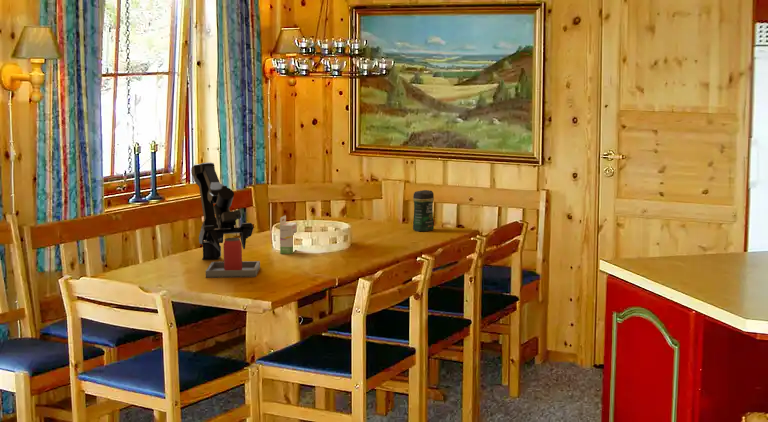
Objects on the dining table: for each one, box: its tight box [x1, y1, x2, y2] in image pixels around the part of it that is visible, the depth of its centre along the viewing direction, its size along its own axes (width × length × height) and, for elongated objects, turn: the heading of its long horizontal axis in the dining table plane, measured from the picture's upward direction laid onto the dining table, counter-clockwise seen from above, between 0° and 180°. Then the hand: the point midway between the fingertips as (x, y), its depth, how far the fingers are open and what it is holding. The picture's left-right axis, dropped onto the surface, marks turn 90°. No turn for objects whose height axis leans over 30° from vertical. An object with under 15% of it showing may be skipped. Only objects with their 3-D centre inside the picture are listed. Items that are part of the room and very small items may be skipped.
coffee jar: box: [412, 189, 435, 232], centre depth 479 cm, size 10×8×19 cm
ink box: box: [279, 214, 298, 255], centre depth 426 cm, size 9×5×15 cm, turn 168°
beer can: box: [223, 237, 243, 270], centre depth 384 cm, size 7×7×12 cm
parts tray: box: [205, 260, 261, 279], centre depth 385 cm, size 18×18×2 cm
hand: (232, 249), depth 384 cm, fingers open, 9 cm apart
